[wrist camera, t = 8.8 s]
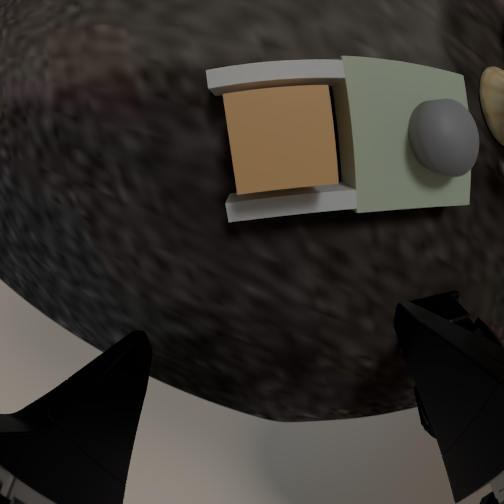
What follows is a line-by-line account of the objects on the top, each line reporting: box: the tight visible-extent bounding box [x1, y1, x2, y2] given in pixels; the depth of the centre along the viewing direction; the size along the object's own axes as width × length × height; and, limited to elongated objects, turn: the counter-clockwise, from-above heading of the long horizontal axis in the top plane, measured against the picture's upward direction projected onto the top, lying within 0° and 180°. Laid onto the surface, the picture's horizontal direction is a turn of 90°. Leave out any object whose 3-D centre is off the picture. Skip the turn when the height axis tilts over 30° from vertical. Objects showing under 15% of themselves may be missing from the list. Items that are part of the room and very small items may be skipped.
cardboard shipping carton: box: [223, 85, 339, 195], centre depth 15 cm, size 5×5×6 cm
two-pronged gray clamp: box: [206, 56, 479, 222], centre depth 15 cm, size 18×10×5 cm, turn 97°
